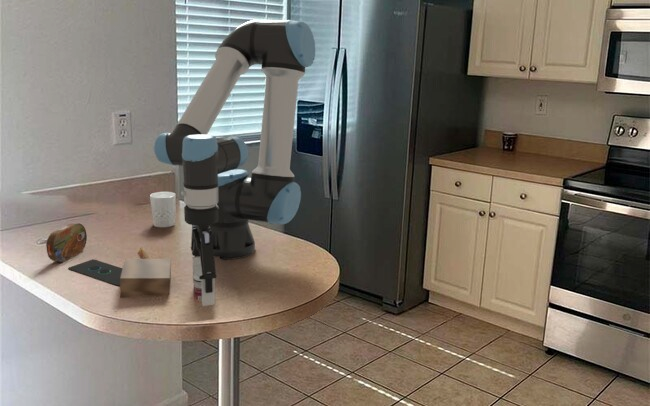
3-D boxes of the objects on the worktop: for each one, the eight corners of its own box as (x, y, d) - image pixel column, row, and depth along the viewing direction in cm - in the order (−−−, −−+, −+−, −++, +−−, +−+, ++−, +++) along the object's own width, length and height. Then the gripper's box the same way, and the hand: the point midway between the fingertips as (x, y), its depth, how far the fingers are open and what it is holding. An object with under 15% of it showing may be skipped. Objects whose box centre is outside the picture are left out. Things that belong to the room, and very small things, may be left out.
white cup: (151, 221, 200) (149, 192, 197) (175, 220, 202) (174, 191, 200) (152, 229, 193) (150, 198, 190) (177, 227, 195) (176, 197, 192)
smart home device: (93, 258, 164) (145, 274, 154) (94, 264, 164) (145, 281, 154) (66, 267, 157) (118, 285, 147) (67, 273, 157) (119, 292, 147)
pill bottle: (205, 294, 146) (204, 261, 143) (219, 300, 143) (218, 266, 141) (189, 300, 142) (188, 267, 140) (203, 306, 139) (202, 272, 137)
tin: (56, 266, 161) (53, 236, 159) (45, 265, 161) (42, 235, 159) (88, 247, 175) (86, 219, 173) (78, 246, 176) (76, 218, 173)
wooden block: (170, 277, 154) (171, 258, 152) (169, 297, 144) (169, 278, 142) (125, 277, 151) (124, 258, 150) (120, 297, 141) (120, 278, 140)
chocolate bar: (146, 253, 173) (145, 246, 172) (155, 268, 162) (155, 260, 162) (136, 254, 171) (136, 247, 171) (145, 269, 161) (145, 261, 161)
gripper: (177, 192, 146) (180, 275, 152) (192, 221, 124) (195, 317, 129) (208, 190, 149) (210, 272, 154) (229, 218, 126) (230, 313, 132)
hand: (203, 293), depth 142 cm, fingers open, 13 cm apart
